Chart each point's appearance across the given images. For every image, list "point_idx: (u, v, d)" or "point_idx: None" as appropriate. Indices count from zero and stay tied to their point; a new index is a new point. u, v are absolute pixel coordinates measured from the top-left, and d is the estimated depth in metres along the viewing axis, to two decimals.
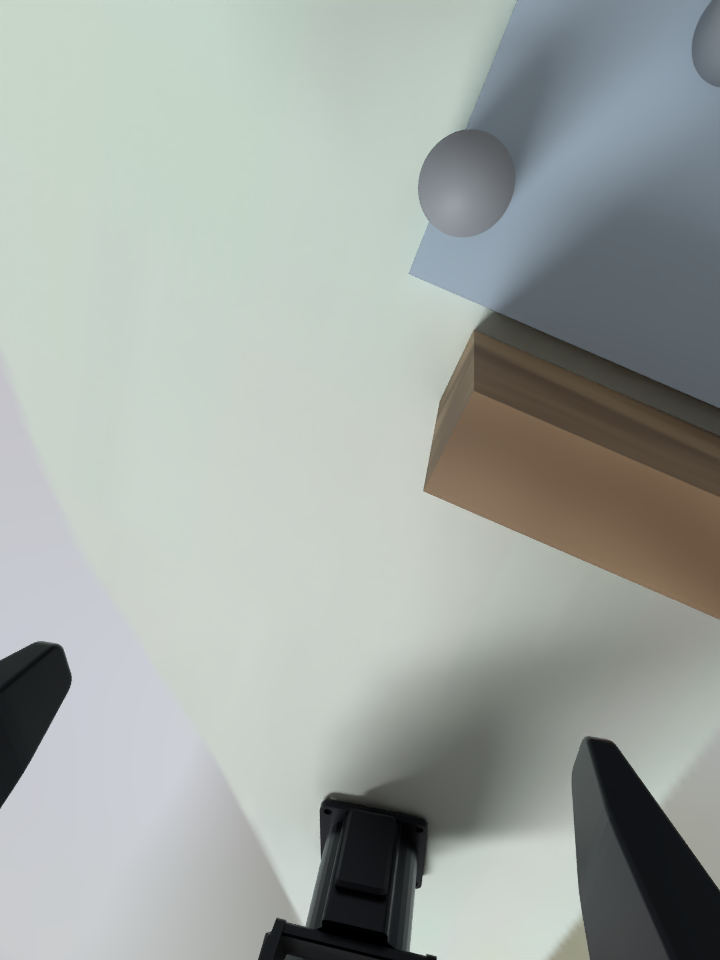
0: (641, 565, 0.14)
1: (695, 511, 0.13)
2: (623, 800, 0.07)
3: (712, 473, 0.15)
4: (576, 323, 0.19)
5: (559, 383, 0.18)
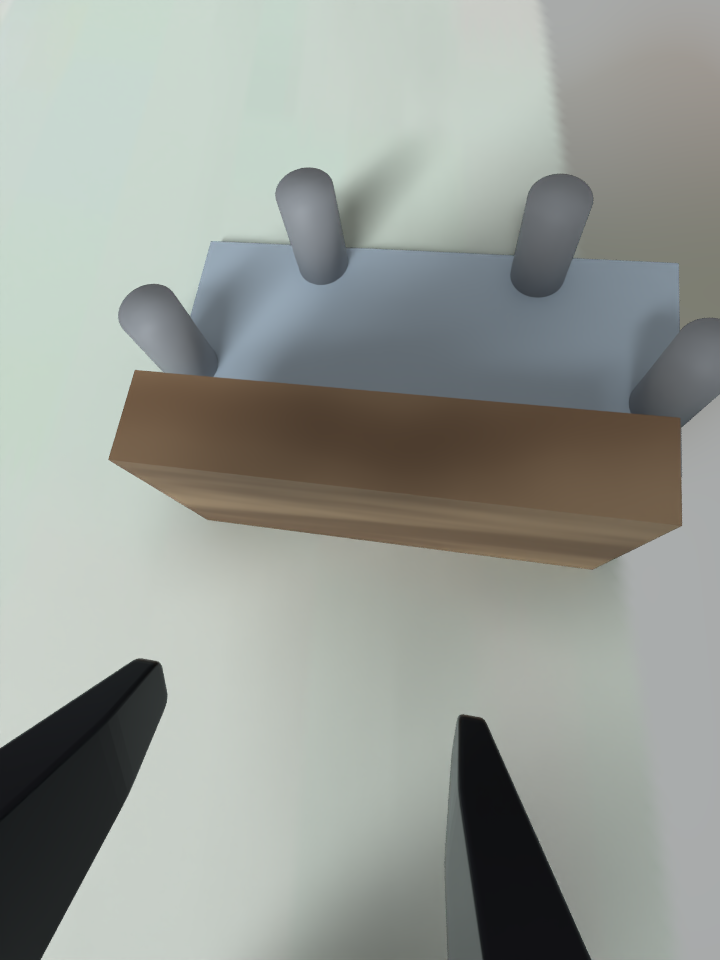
0: (304, 464, 0.16)
1: (323, 404, 0.16)
2: (476, 772, 0.07)
3: None
4: None
5: None
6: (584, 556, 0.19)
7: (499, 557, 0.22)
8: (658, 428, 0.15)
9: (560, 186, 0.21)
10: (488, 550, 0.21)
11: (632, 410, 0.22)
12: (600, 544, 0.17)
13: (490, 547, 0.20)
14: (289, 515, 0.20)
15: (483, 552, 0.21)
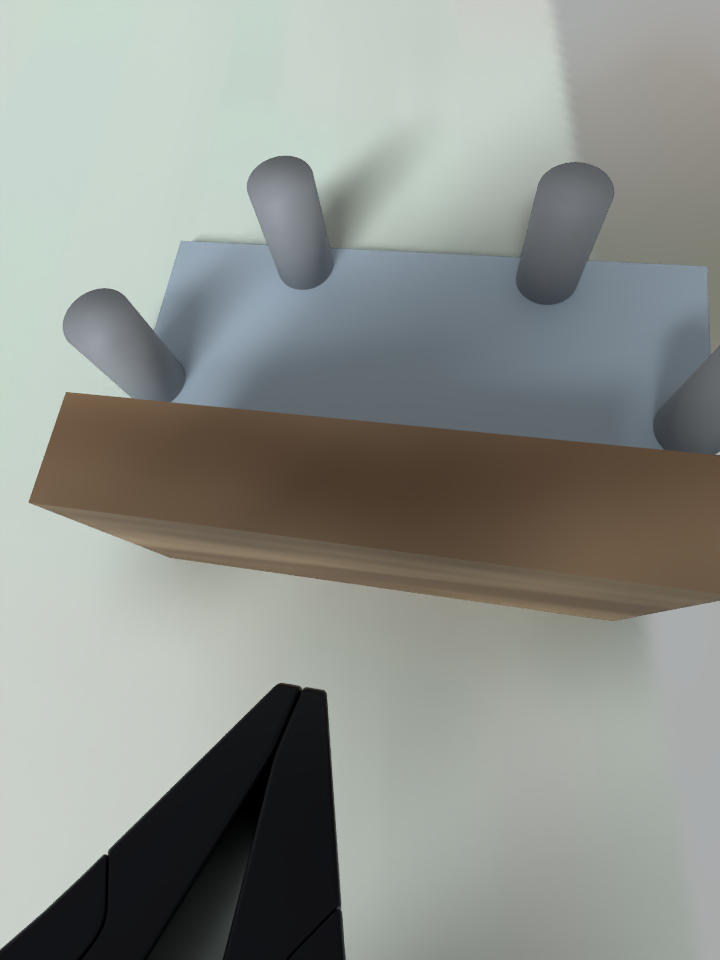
0: (266, 510, 0.13)
1: (291, 435, 0.13)
2: (297, 738, 0.08)
3: None
4: None
5: None
6: (605, 611, 0.16)
7: None
8: (706, 470, 0.12)
9: (575, 176, 0.18)
10: (491, 599, 0.18)
11: (657, 435, 0.19)
12: (628, 604, 0.14)
13: (494, 597, 0.17)
14: (258, 559, 0.17)
15: (485, 600, 0.18)
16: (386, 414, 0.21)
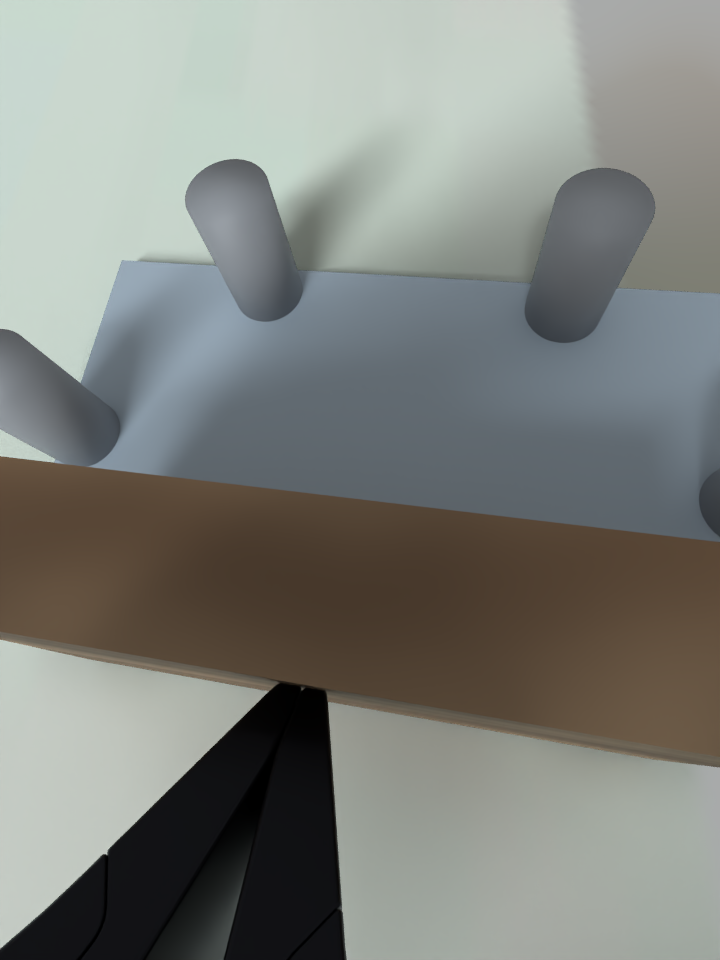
0: (173, 624, 0.09)
1: (219, 513, 0.09)
2: (297, 738, 0.08)
3: None
4: None
5: None
6: (655, 756, 0.12)
7: None
8: None
9: (604, 186, 0.14)
10: (498, 730, 0.14)
11: (705, 513, 0.15)
12: (697, 761, 0.10)
13: (502, 730, 0.13)
14: (187, 673, 0.13)
15: (490, 729, 0.14)
16: (364, 480, 0.17)
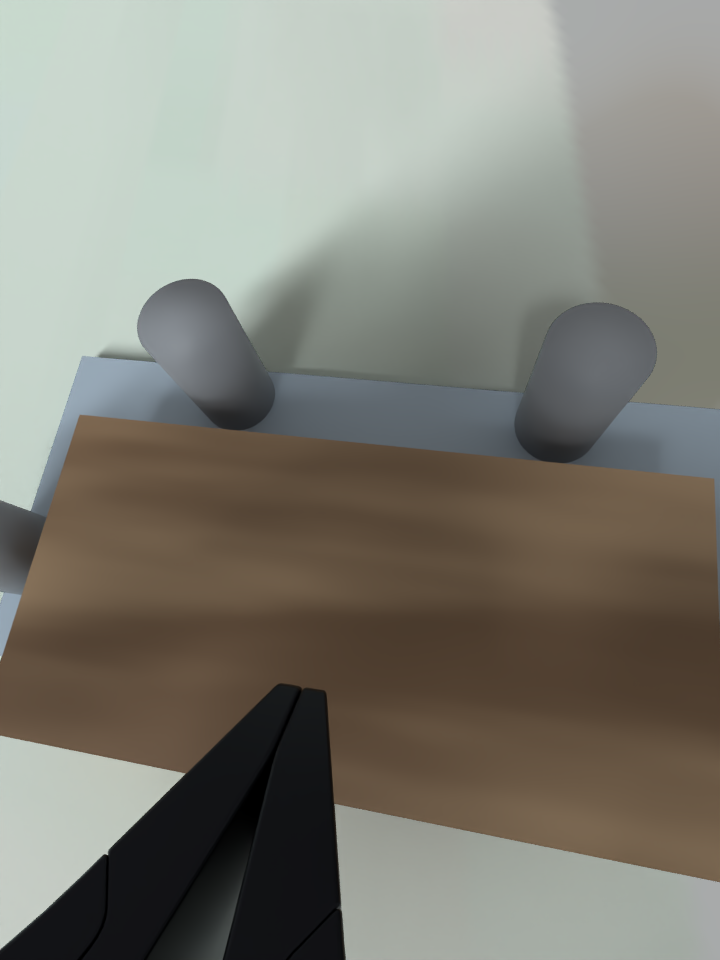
0: None
1: None
2: (297, 738, 0.08)
3: None
4: None
5: None
6: (674, 731, 0.11)
7: (532, 834, 0.11)
8: None
9: (599, 325, 0.12)
10: (508, 765, 0.11)
11: None
12: (667, 618, 0.12)
13: (510, 732, 0.11)
14: (191, 617, 0.13)
15: (499, 791, 0.11)
16: None
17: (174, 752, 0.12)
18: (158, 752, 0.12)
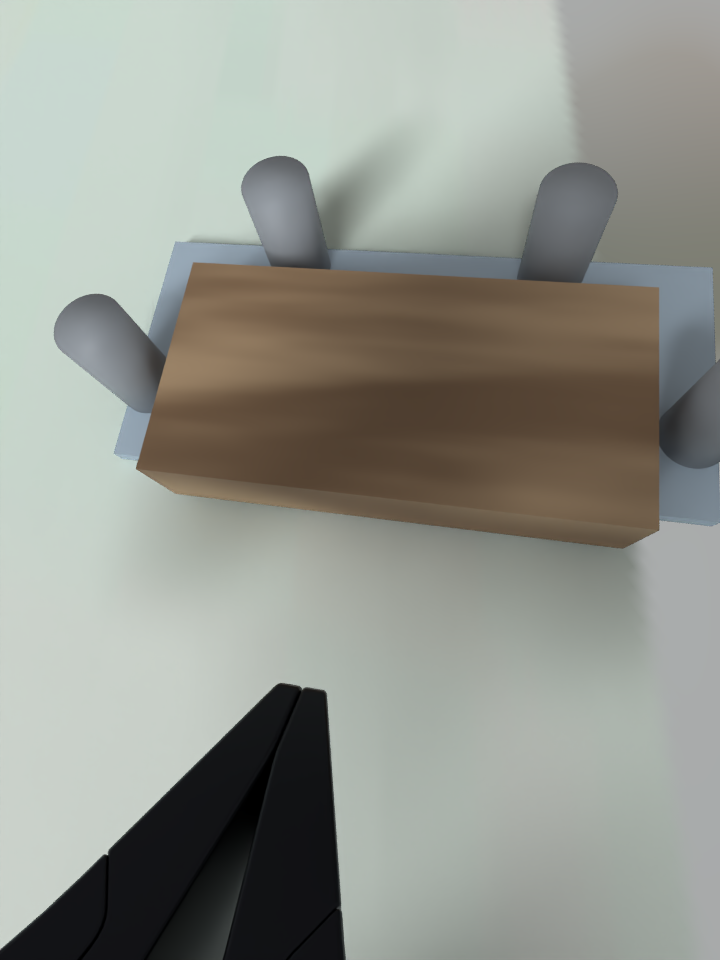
0: None
1: None
2: (297, 738, 0.08)
3: None
4: None
5: None
6: (626, 444, 0.16)
7: (529, 509, 0.16)
8: None
9: (578, 177, 0.17)
10: (512, 470, 0.16)
11: (661, 442, 0.19)
12: (623, 376, 0.17)
13: (514, 450, 0.17)
14: (286, 390, 0.18)
15: (506, 486, 0.16)
16: None
17: (278, 474, 0.17)
18: (267, 475, 0.17)
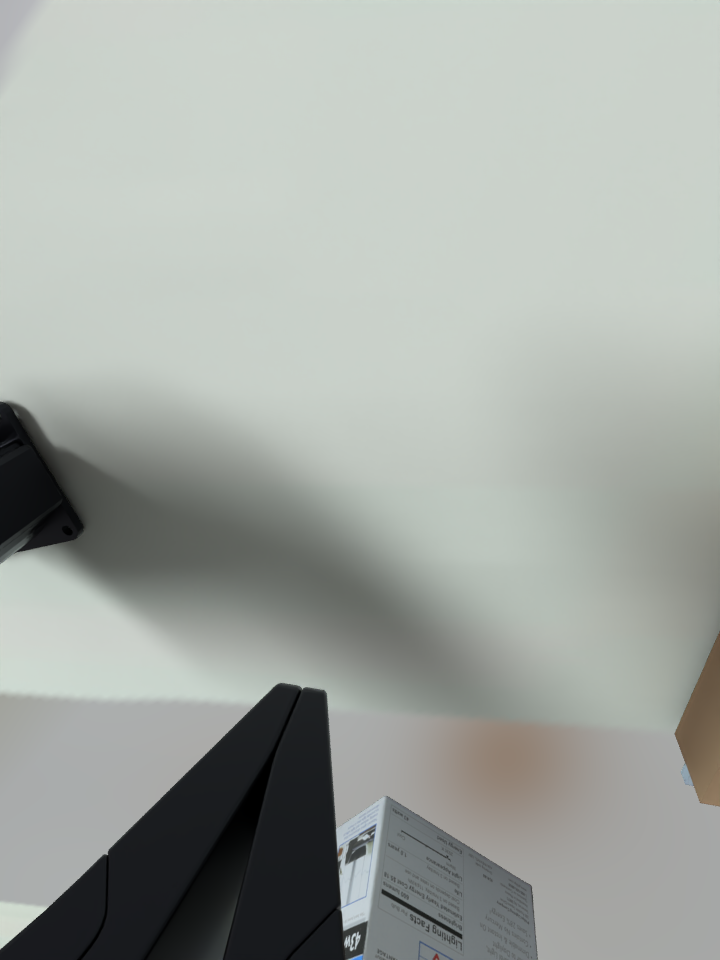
0: None
1: None
2: (297, 738, 0.08)
3: None
4: None
5: None
6: None
7: None
8: None
9: None
10: None
11: None
12: None
13: None
14: None
15: None
16: None
17: None
18: None
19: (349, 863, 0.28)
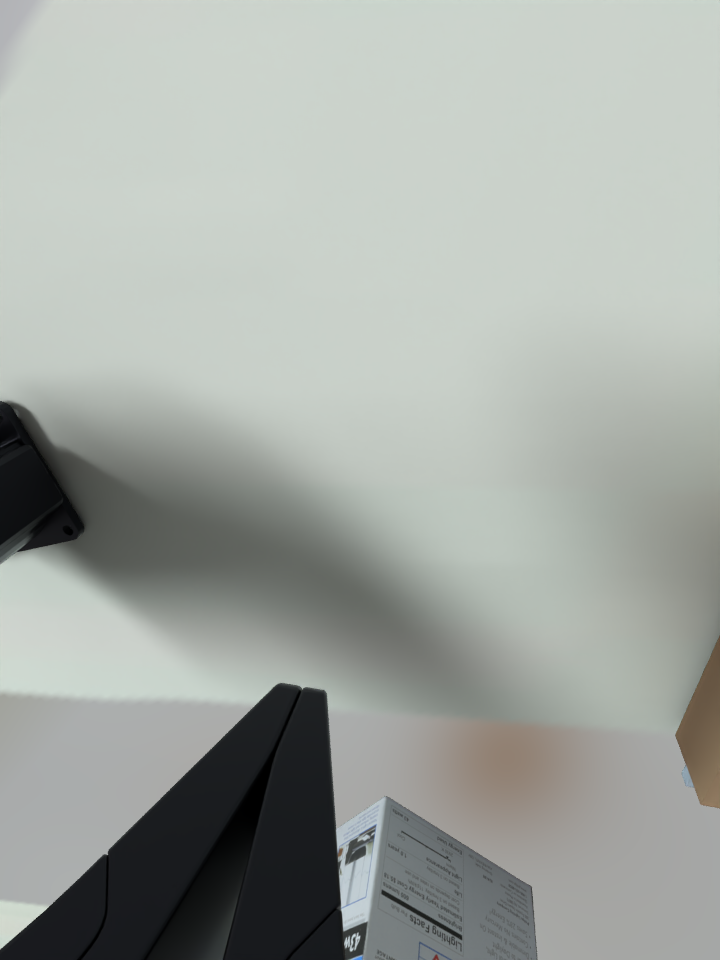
0: None
1: None
2: (297, 738, 0.08)
3: None
4: None
5: None
6: None
7: None
8: None
9: None
10: None
11: None
12: None
13: None
14: None
15: None
16: None
17: None
18: None
19: (349, 864, 0.28)
